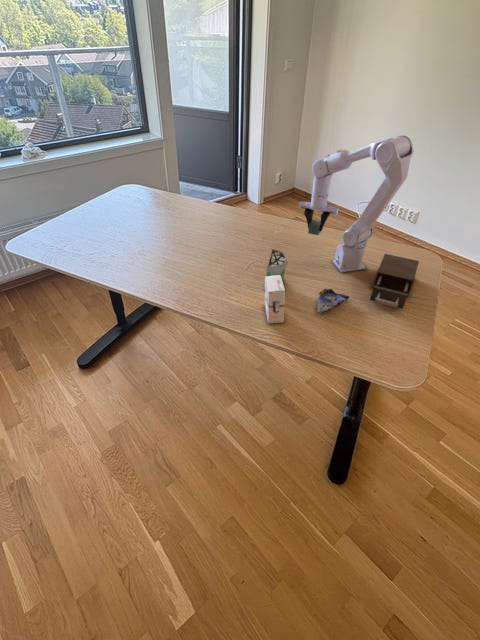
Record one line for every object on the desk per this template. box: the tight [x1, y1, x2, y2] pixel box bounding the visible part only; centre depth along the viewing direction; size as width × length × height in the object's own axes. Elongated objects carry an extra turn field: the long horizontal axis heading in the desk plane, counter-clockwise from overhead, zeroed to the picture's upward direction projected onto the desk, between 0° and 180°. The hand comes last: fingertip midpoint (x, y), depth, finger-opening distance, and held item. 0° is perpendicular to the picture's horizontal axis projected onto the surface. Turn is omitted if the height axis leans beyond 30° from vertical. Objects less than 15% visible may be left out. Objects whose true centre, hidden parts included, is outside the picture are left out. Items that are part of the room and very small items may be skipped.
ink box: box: [264, 275, 286, 324], centre depth 103 cm, size 9×5×12 cm, turn 5°
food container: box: [266, 248, 288, 282], centre depth 116 cm, size 12×6×10 cm, turn 168°
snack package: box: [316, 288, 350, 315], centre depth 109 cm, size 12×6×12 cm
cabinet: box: [372, 253, 420, 298], centre depth 117 cm, size 13×11×7 cm
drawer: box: [369, 274, 410, 310], centre depth 110 cm, size 17×10×5 cm, turn 152°
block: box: [307, 219, 322, 236], centre depth 133 cm, size 4×4×4 cm
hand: (315, 228), depth 133 cm, fingers closed on block, 4 cm apart
